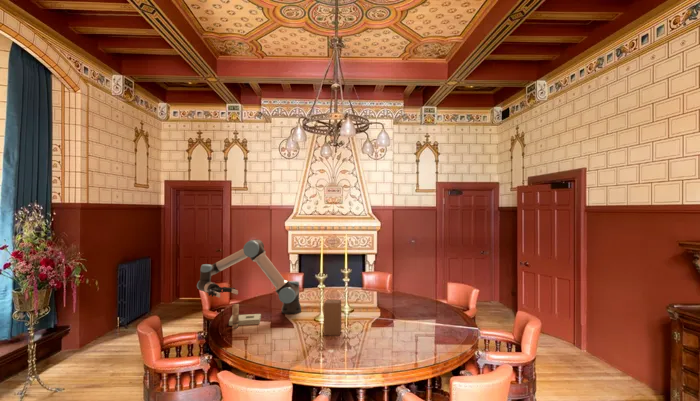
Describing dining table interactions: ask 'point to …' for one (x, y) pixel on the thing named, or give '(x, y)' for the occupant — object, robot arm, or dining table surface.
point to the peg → (235, 315)
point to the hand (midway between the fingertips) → (228, 293)
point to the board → (247, 319)
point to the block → (332, 317)
